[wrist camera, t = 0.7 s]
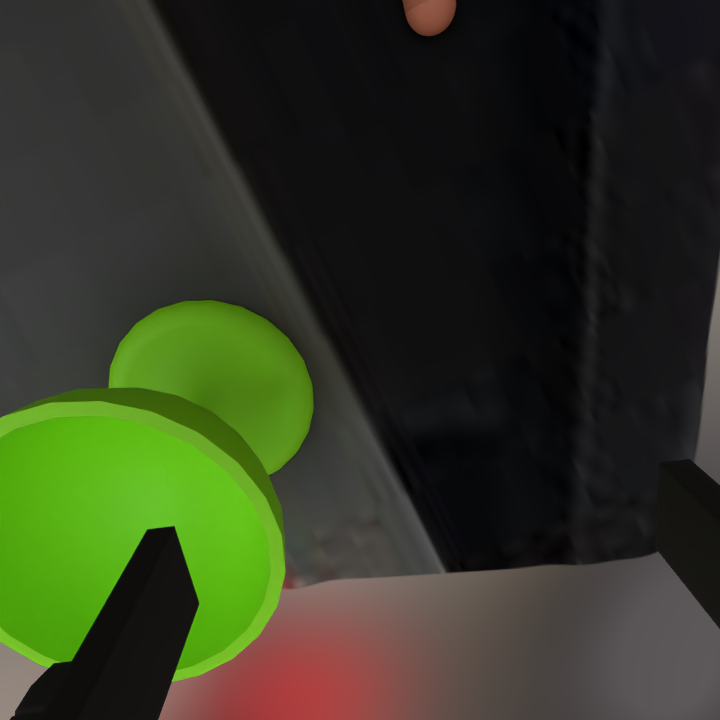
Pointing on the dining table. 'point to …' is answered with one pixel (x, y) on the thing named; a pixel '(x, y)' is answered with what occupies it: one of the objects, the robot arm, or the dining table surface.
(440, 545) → the dining table surface
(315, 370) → the dining table surface
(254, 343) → the wineglass
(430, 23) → the sausage
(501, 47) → the dining table surface
